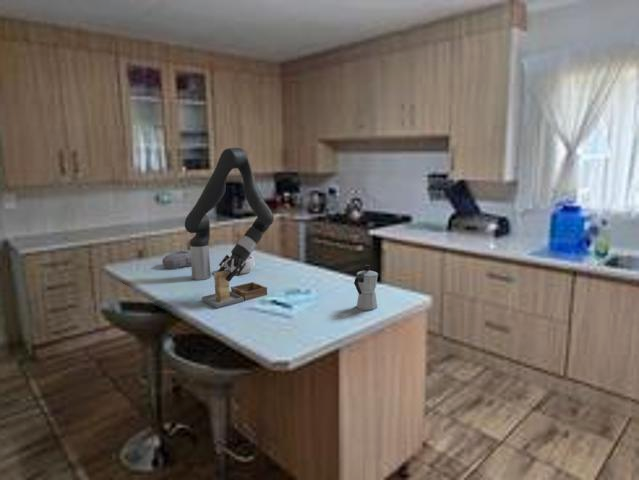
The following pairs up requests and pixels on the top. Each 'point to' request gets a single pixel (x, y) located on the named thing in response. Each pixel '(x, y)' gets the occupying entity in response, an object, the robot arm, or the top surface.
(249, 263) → the paper bowls
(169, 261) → the grey rounded bag
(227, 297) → the oak peg
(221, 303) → the tray
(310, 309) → the top surface
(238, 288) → the square wooden frame
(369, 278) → the coffee maker
